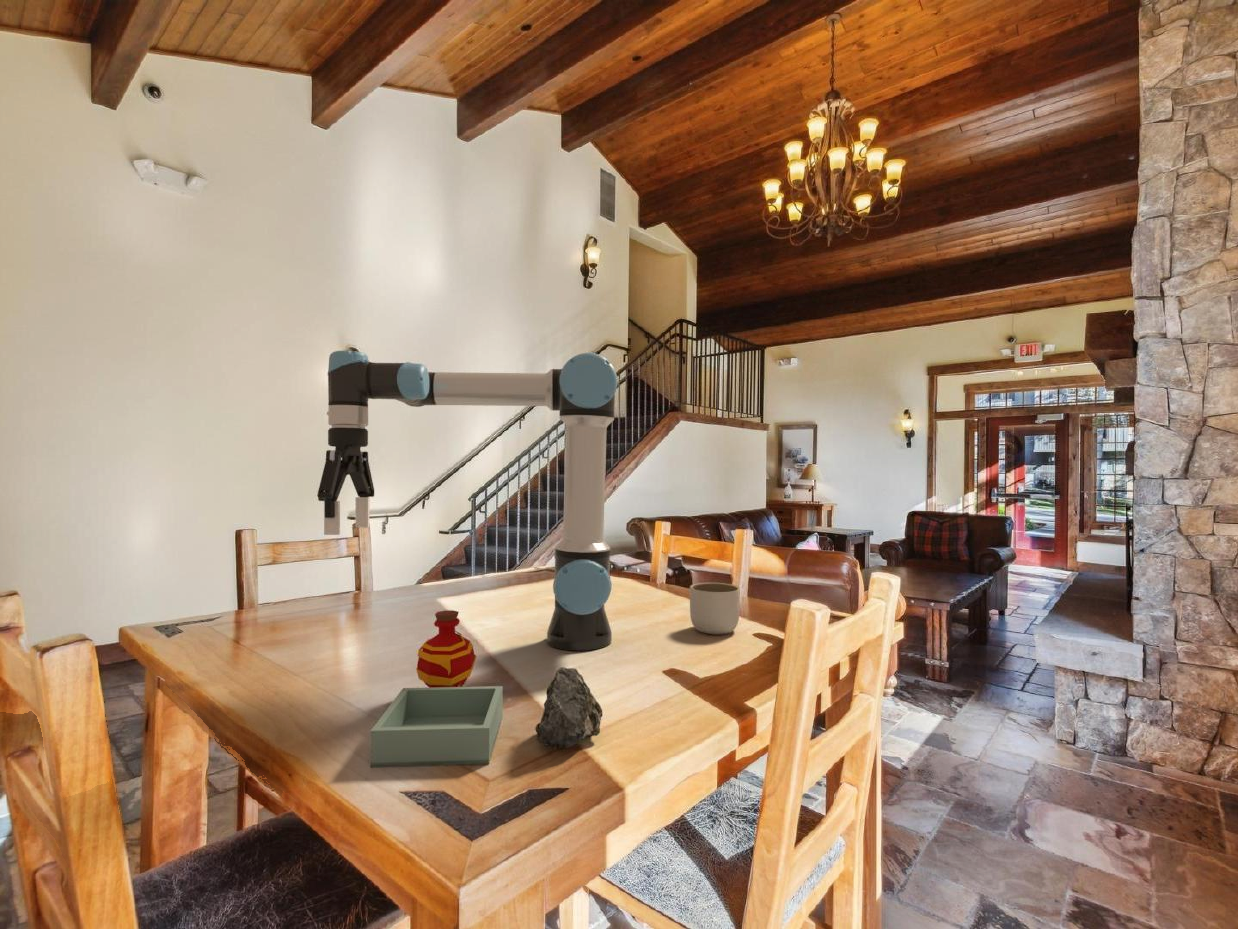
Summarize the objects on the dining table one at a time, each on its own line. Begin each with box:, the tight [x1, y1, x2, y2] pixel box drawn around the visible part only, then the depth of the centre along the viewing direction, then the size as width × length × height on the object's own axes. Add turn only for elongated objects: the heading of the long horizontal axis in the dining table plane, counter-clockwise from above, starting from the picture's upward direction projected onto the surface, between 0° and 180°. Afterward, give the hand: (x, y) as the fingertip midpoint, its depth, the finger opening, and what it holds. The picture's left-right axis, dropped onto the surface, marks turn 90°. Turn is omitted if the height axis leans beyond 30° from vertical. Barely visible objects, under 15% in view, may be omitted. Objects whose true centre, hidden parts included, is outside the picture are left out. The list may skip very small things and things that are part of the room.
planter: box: [689, 582, 741, 636], centre depth 154 cm, size 12×12×11 cm
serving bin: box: [369, 685, 504, 768], centre depth 92 cm, size 16×16×5 cm
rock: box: [535, 666, 603, 749], centre depth 93 cm, size 12×10×10 cm
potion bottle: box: [416, 609, 477, 688], centre depth 109 cm, size 10×10×15 cm
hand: (348, 531), depth 126 cm, fingers open, 13 cm apart
